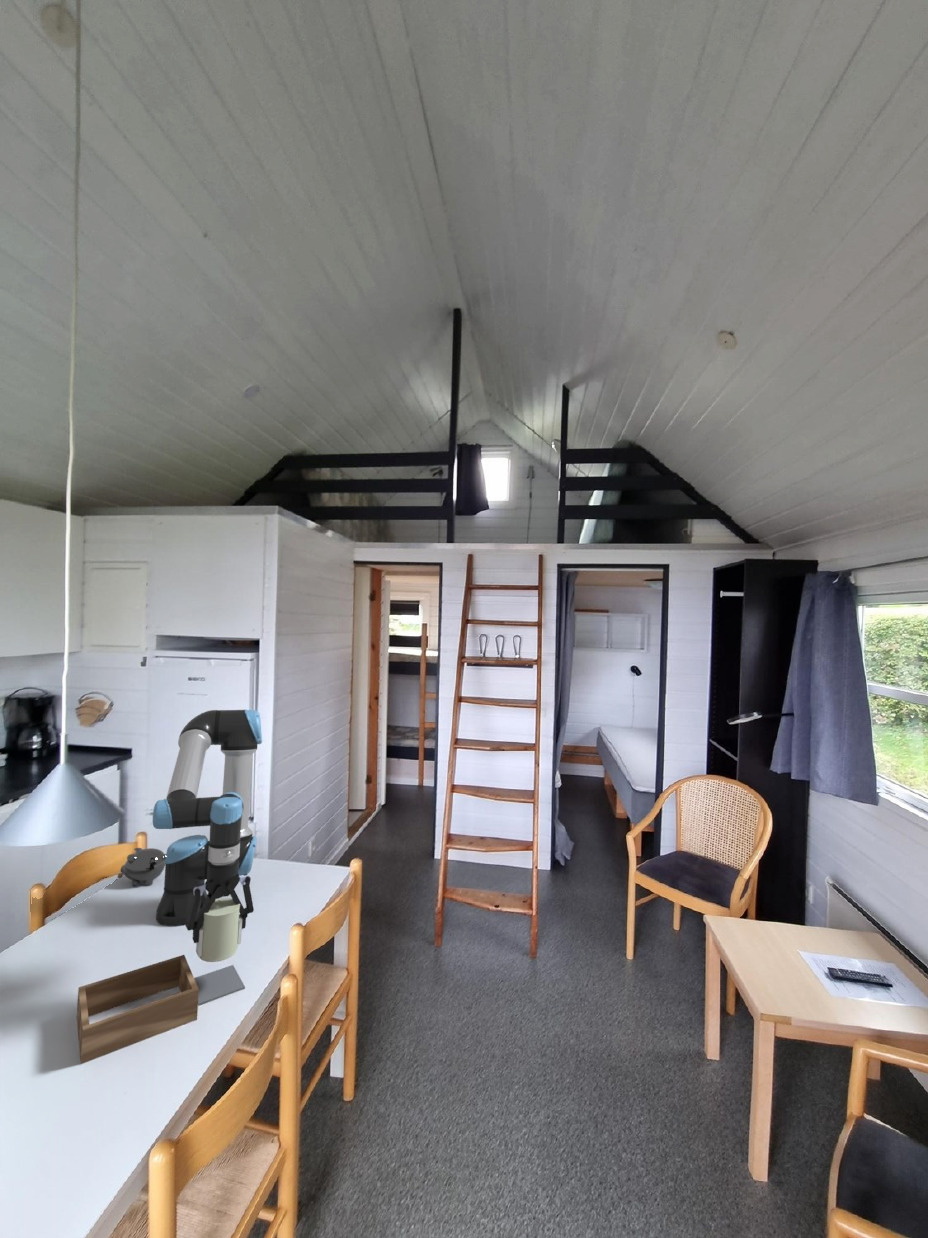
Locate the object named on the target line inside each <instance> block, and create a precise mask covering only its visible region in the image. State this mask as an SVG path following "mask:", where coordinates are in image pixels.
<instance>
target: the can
mask: <svg viewBox="0 0 928 1238" xmlns="http://www.w3.org/2000/svg"><path fill="white" fill-rule="evenodd" d="M239 908H240V904H238V905H236V904H235V903H234V901H233V899H232V897H221V898H218V899H216V900H215V902H214V903H213V904H212V906H211V908H210V910H209V912H208V913H204V922H203V924H202V926H201V927H202V929H203V941H202V956H200V957H199V959H200V960H202V961H204V962H207V963H218V962H222V961H224V960H227V959H229V958H231V957H232V956H233V955H235V954H236V953H237V951H238V948H239V944H237V943H238V923H239V914H240V913H239Z"/></svg>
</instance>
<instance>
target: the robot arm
mask: <svg viewBox="0 0 928 1238" xmlns="http://www.w3.org/2000/svg"><path fill="white" fill-rule="evenodd" d="M262 735H263V734H262V723H261V714H260V712H259V710H256V709H212V710H207V711H204V712H201V713H199V714H198V715H196V716H194V717H193V718H192V719H191V720H190V721H188V722H187V723H186V725H185V726H184V727H183V729H182V730H181V732H180V734H179V736H178V737H179V738H178V741H177V745H178V748H179V749H178V750H179V751H178V755H177V757H176V761H175V765H174V768H173V772H172V776H171V780H170V784H169V787H168V791H167V795H166V798H164V799H158V800H157V801H156V802H155V804H154V806H153V812H152V826H153V827H154V828H155V829H156V830H174V829H175V830H176V829H183V828H194V827H209V840H208V837H207V836H206V835H205V834H202V835H201V834H194V835H188V836H185V837H182V838H179V839H177V840H175V841H174V842H172V843H171V844H169V846H168V847H167V849H166V853H165V854H166V859H165V863H166V864H165V868H164V884H163V886H164V887H163V893H162V895H161V899H160V901H159V903H158V906H157V908H156V912H155V920H156V922H157V923H158V924H161V925H163V926H169V927H171V926H172V927H173V926H174V927H175V926H177V927H178V926H182V925H183V926H185V927H186V930H187V931H190V932H191V931H192V941H193V943H194V944H196V947H195V948H196V949H195V952H196V955H197V957H198V958H200V956H202V941H203V929H202V927H201V926H202V924H203V922H204V913H208V912H209V910H210V908H211V906H212V904H213V903H214V902H215V900H216V899H221V898H227V897H229V896H230V898H232V899H233V901H234V903H235V904H236V905H238V904H240V908H239V923H238V943H237V945H240V944H242V935H243V934H242V931H243V930H244V929H245V928H246V926H247V925H246V923H247V918H248V917H249V914H252V913H253V912H254V911H255V909H254V902H253V899H252V897H253V896H252V893H251V887H250V884H251V879H252V878H251V877H250V875H249V873H251V871H252V868H253V863H254V857H255V852H256V851H255V850H256V845H257V840H258V839H257V837H256V836H253V830H252V829H251V828H250V827H249V819H250V817H249V815H250V802H251V801H250V799H251V781H252V780H251V779H252V766H253V765H252V763H253V762H252V761H253V754H254V753H255V752H256V751H257V750H258V745H261V744H262V743H263V737H262ZM211 746H220V752H221V753H222V754H223V755H224V767H223V779H222V781H223V782H222V794H221V795H220V796H208V797H205V796H204V797H198V792H199V787H200V782H201V777H202V774H203V773H202V772H203V767H204V762H205V758H206V753H207V750H209V749H210V747H211ZM205 880H206V881H205ZM239 883H240V884H241V885H242V890H243V897H244V902H245V907H244V906H243V904H242V902H241V900H240V898H239V896H238V894H237V892H236V890H235V889H236V887H237V886H238V885H239Z"/></svg>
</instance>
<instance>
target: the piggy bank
mask: <svg viewBox="0 0 928 1238" xmlns="http://www.w3.org/2000/svg"><path fill="white" fill-rule="evenodd" d="M134 851H135V852H134V853H131V854H129V855H127V857H126V861H125V863H124V864H122V866H121V867H120V873H122V874H123V875H124V877H125V878H127V879H128V880H130V881H132V884H131V885H132V887H137V886H138V885H139V884H140V883H141V882H142V883H143V882H145V885H146V886H147V887H148V886H149V887H150V886H152V885H153V884H154V880H155V879H157V878H158V877H160V876H161V874H162V873H163V871H165V865H166V863H165V859H166V853H164V852H163V851H162V850H161V849H158V848H154V847H153V848H142V847H134Z"/></svg>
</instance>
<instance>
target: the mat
mask: <svg viewBox="0 0 928 1238" xmlns="http://www.w3.org/2000/svg"><path fill="white" fill-rule="evenodd" d="M194 979H195V981H196V984H197V986H198V989H199V995H198V1007H199V1006H201V1005H203V1004H204V1005H205V1004H206V1003H209V1002H213V1001H215V1000H218V999H220V998H223V997H226V996H228V995H231V994H233V993H237V992H239V991H241V990H244V989H246V986H245V985H244V982H243V980H242V979H241V977H240V975H239V973H238V971H237V970H236V967H235V966H234V964H232V965H229V966H226V967H223V968H220V969H216V970H214V971H211V972H208V973H205V974H202V975H200V976H199V975H198V976H195V977H194Z"/></svg>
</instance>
